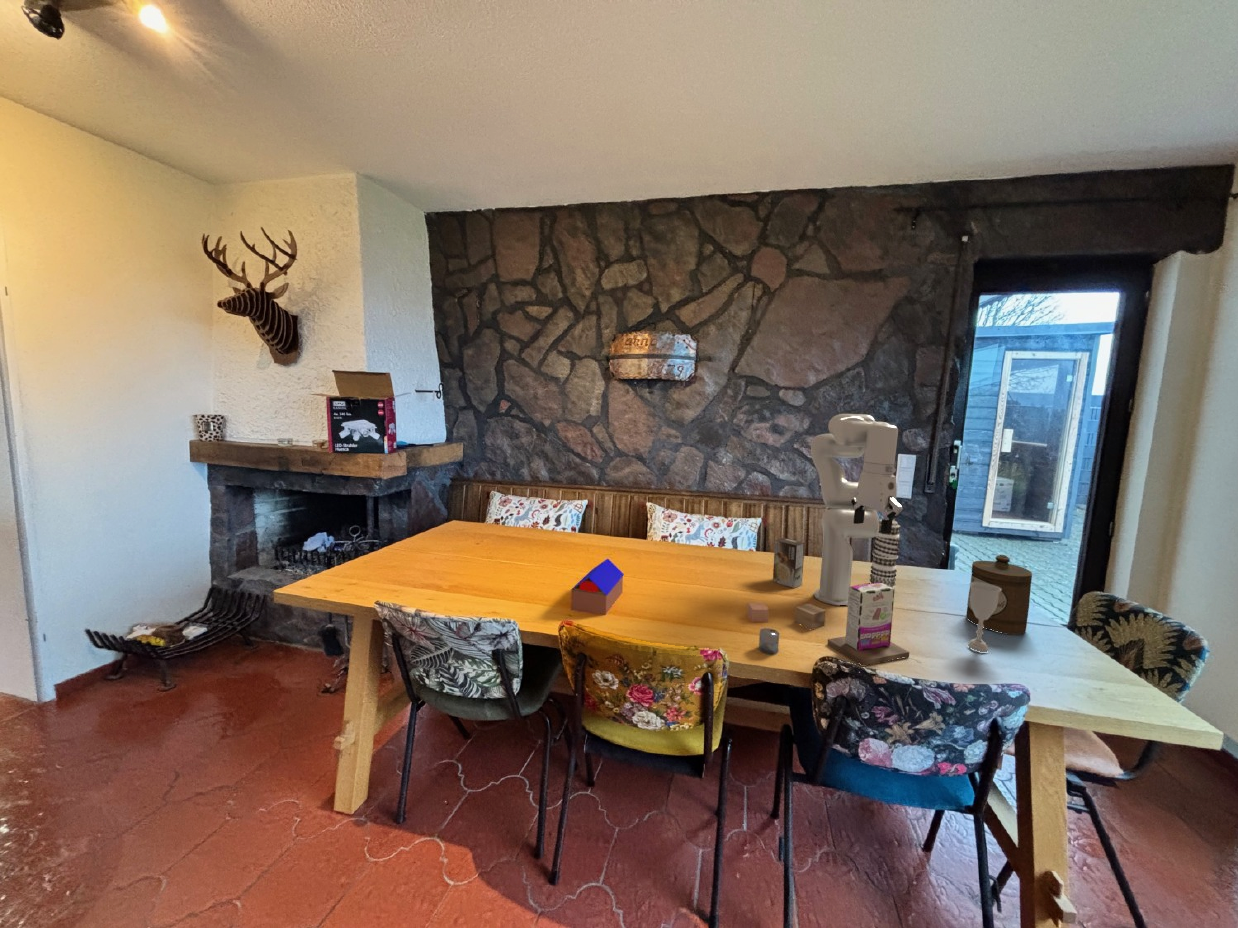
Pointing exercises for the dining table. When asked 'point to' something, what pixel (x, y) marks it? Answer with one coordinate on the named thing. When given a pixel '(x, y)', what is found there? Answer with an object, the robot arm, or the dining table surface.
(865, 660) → the walnut board
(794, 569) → the coffee box
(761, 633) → the grey metal cylinder
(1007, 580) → the wooden container
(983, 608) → the chalice
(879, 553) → the decorative candle
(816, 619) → the dark oak block
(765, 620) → the terracotta block
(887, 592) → the candy bar box
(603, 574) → the house
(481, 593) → the dining table surface
